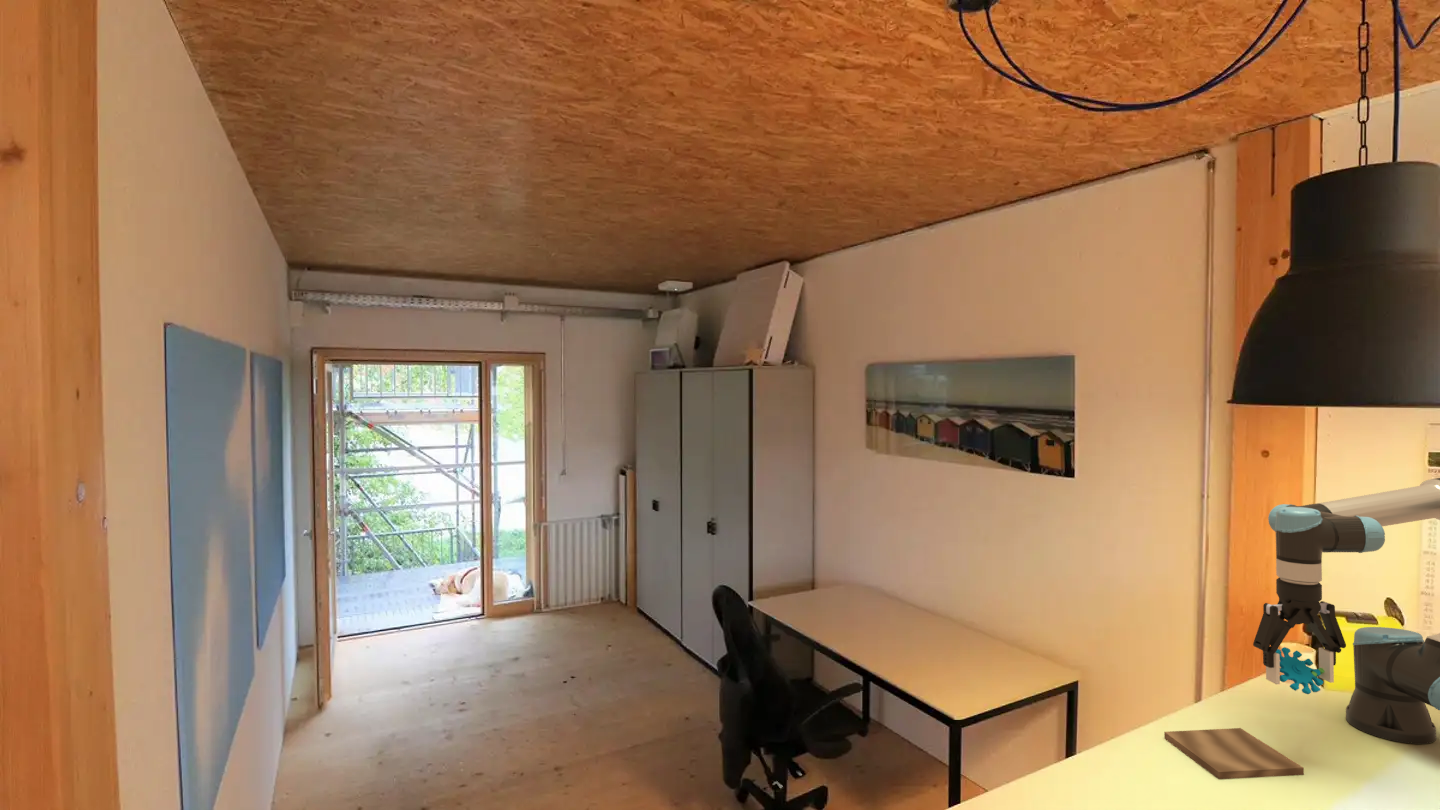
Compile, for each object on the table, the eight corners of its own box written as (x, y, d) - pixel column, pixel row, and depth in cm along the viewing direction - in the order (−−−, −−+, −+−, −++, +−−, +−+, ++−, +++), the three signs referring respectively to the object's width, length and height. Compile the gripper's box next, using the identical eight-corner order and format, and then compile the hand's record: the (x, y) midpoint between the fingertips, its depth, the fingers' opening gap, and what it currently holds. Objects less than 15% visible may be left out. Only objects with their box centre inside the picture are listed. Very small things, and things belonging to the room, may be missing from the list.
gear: (1286, 688, 144) (1265, 643, 151) (1268, 699, 148) (1248, 654, 155) (1339, 695, 144) (1315, 649, 151) (1320, 705, 148) (1297, 660, 155)
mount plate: (1240, 734, 160) (1240, 728, 160) (1303, 774, 143) (1303, 767, 143) (1164, 738, 160) (1164, 731, 160) (1218, 779, 143) (1218, 772, 143)
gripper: (1335, 573, 152) (1336, 671, 152) (1231, 576, 151) (1232, 675, 152) (1368, 583, 144) (1369, 686, 145) (1259, 586, 144) (1260, 690, 144)
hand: (1299, 680), depth 148 cm, fingers closed on gear, 11 cm apart
